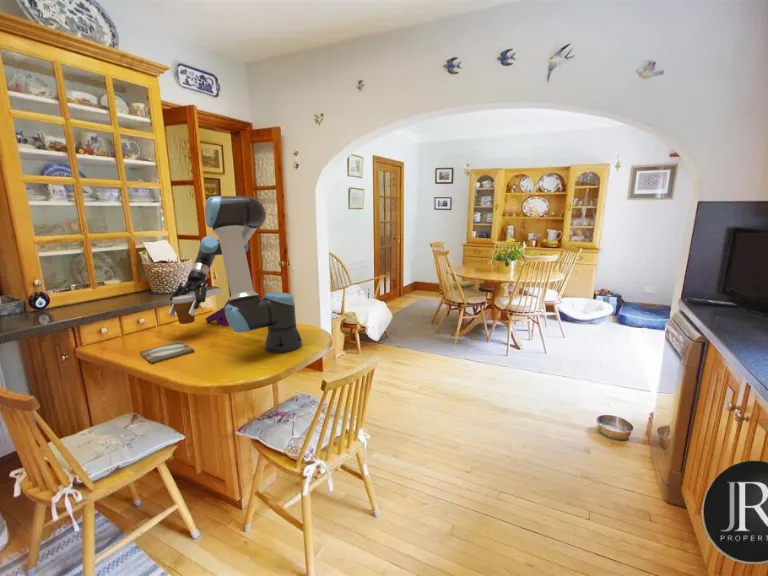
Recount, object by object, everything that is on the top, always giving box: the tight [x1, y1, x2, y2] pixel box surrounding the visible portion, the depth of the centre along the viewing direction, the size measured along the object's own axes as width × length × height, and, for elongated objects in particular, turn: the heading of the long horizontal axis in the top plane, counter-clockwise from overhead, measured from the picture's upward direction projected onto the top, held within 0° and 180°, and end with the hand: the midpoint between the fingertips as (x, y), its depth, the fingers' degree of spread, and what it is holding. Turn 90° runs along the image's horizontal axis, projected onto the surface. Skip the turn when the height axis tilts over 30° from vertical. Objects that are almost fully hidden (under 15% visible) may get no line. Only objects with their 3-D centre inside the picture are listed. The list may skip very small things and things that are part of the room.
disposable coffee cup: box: [171, 294, 196, 325], centre depth 169 cm, size 10×10×12 cm
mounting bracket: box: [204, 307, 229, 327], centre depth 195 cm, size 9×8×18 cm
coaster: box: [139, 340, 195, 365], centre depth 154 cm, size 16×16×1 cm
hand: (181, 314), depth 167 cm, fingers closed on disposable coffee cup, 9 cm apart
